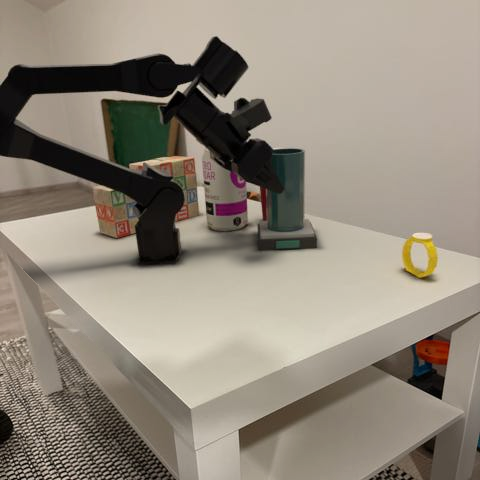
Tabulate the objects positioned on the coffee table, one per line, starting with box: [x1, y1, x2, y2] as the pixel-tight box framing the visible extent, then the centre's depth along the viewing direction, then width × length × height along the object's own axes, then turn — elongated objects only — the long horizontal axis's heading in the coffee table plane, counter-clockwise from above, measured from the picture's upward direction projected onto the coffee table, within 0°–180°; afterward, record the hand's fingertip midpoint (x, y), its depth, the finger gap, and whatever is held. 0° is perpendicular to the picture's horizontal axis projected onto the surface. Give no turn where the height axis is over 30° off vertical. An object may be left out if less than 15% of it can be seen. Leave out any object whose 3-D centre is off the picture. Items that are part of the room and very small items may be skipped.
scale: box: [257, 218, 318, 251], centre depth 92 cm, size 10×10×2 cm
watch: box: [401, 232, 439, 279], centre depth 73 cm, size 6×3×6 cm, turn 22°
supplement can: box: [201, 147, 249, 232], centre depth 99 cm, size 8×8×15 cm
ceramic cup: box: [266, 147, 306, 232], centre depth 88 cm, size 7×7×13 cm
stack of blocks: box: [92, 155, 200, 239], centre depth 104 cm, size 21×6×12 cm, turn 136°
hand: (272, 186), depth 87 cm, fingers open, 9 cm apart
